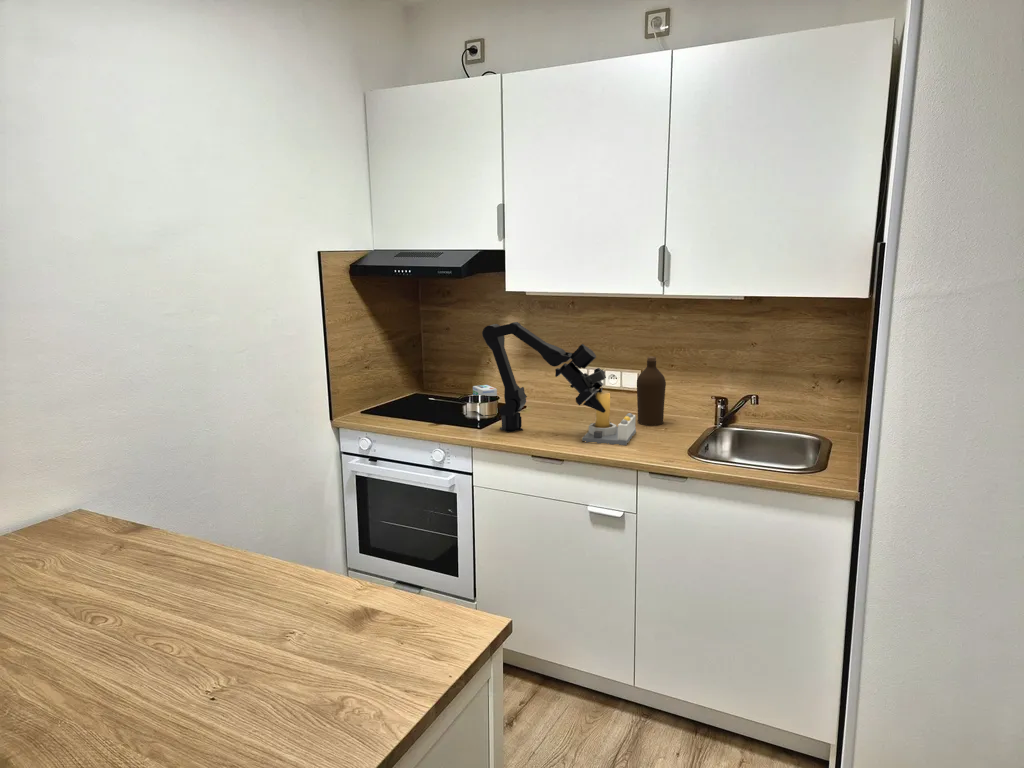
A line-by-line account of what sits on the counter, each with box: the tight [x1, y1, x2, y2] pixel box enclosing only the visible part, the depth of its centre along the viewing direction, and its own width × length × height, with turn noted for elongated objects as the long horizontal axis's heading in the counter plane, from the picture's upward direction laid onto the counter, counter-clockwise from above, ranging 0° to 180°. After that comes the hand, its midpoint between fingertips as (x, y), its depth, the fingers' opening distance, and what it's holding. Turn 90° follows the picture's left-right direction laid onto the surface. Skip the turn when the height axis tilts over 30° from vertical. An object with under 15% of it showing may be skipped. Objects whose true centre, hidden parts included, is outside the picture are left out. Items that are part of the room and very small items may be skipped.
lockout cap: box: [594, 391, 611, 428], centre depth 236 cm, size 5×5×12 cm
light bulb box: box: [472, 384, 498, 397], centre depth 276 cm, size 11×7×11 cm, turn 25°
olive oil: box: [636, 356, 667, 426], centre depth 254 cm, size 11×11×25 cm
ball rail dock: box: [581, 412, 637, 446], centre depth 236 cm, size 15×18×8 cm
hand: (606, 410), depth 235 cm, fingers closed on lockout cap, 5 cm apart
